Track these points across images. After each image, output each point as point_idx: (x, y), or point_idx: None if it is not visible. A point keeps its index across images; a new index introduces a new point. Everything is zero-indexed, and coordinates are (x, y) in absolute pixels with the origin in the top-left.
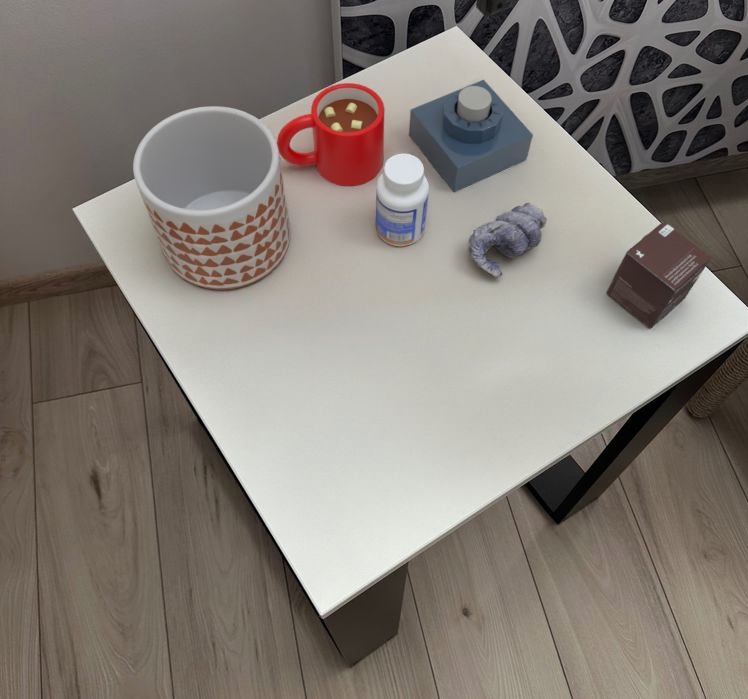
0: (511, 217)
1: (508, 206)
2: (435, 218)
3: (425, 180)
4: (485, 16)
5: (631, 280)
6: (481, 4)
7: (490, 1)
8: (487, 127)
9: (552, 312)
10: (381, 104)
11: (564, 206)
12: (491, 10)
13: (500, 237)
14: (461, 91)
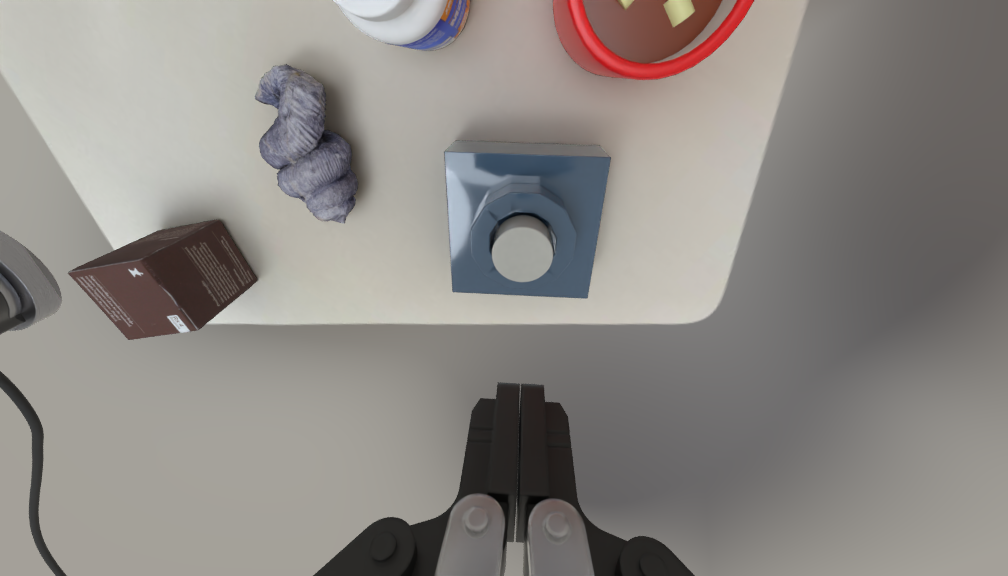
0: (306, 166)
1: (397, 197)
2: (420, 77)
3: (371, 29)
4: (498, 383)
5: (153, 244)
6: (516, 404)
7: (488, 432)
8: (472, 239)
9: (201, 137)
10: (618, 66)
11: (369, 260)
12: (478, 410)
13: (274, 124)
14: (548, 244)
